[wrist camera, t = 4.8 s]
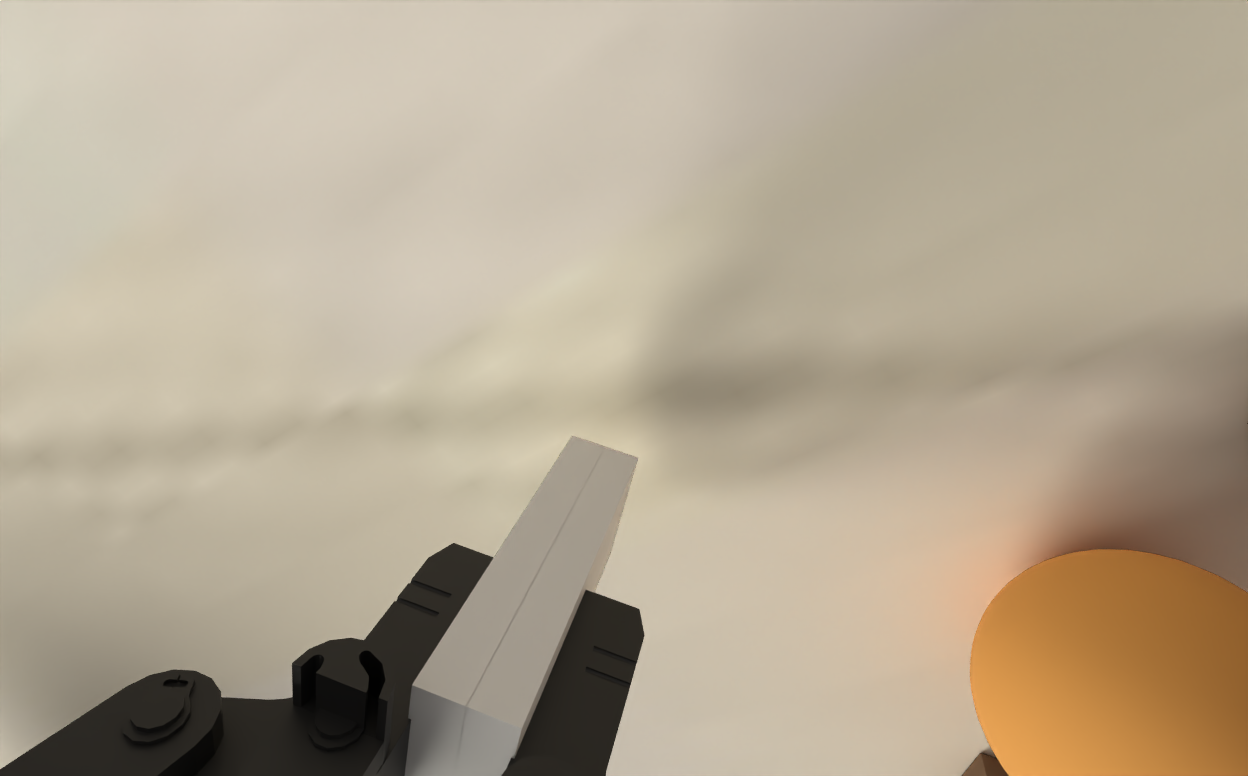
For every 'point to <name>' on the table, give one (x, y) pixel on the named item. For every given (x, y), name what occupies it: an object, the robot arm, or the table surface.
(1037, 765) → the ball
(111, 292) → the table surface
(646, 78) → the table surface
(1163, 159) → the table surface
